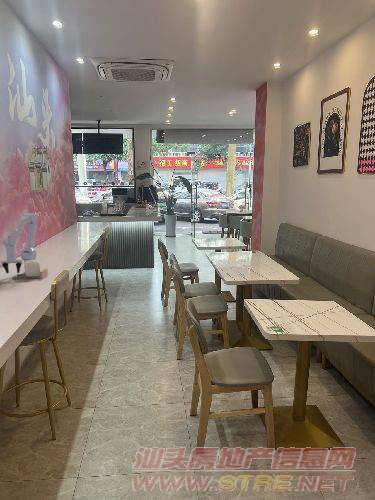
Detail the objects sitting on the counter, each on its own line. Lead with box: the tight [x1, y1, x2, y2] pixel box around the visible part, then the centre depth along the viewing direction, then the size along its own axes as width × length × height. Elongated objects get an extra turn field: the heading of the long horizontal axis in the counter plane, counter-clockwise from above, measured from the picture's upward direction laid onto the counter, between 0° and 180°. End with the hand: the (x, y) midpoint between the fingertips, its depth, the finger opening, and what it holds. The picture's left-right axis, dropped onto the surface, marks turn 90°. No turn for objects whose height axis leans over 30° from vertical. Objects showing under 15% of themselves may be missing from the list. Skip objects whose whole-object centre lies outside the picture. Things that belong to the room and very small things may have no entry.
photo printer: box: [23, 259, 41, 277], centre depth 278 cm, size 10×4×12 cm, turn 103°
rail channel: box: [12, 268, 48, 280], centre depth 278 cm, size 10×22×5 cm, turn 90°
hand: (13, 273), depth 278 cm, fingers open, 7 cm apart
